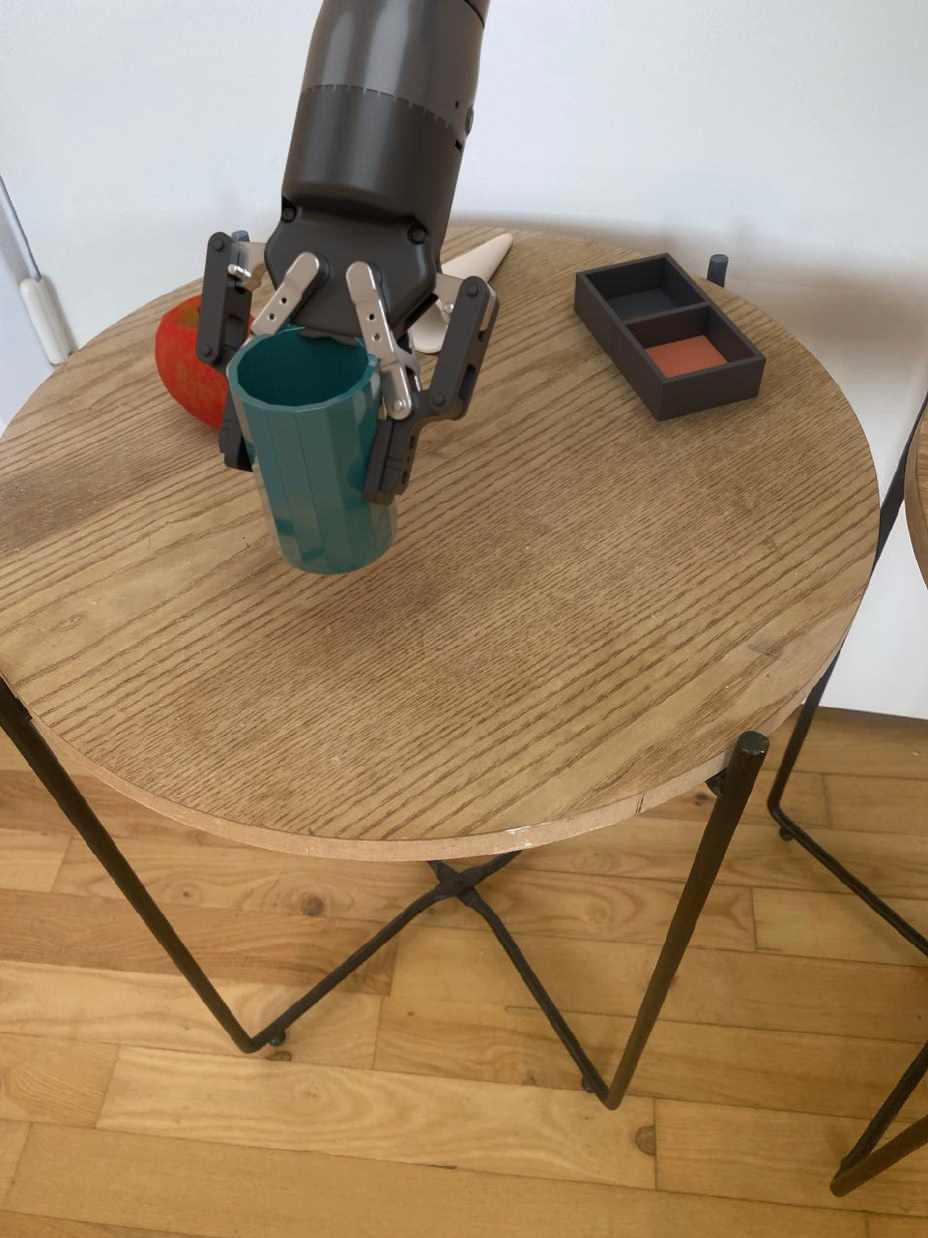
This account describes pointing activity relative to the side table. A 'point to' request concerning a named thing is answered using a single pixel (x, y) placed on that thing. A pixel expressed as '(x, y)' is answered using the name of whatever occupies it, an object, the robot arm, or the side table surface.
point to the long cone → (474, 263)
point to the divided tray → (667, 336)
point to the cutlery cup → (313, 447)
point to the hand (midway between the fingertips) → (307, 485)
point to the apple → (189, 364)
